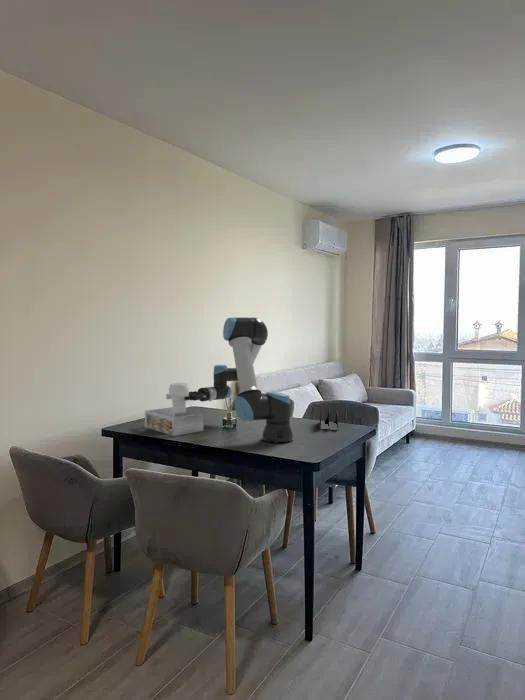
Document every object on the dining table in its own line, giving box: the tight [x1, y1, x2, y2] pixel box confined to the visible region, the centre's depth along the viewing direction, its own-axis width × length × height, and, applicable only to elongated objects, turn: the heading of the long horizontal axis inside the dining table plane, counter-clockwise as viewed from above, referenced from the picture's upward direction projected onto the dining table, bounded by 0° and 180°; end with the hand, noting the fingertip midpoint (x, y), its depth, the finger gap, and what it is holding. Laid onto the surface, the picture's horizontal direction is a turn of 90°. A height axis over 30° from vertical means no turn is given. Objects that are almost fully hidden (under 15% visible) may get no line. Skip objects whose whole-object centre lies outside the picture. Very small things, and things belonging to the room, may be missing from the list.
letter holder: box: [319, 400, 339, 428], centre depth 278 cm, size 10×20×14 cm, turn 174°
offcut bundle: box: [152, 417, 172, 434], centre depth 259 cm, size 18×4×6 cm, turn 43°
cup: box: [168, 382, 190, 414], centre depth 265 cm, size 11×11×15 cm
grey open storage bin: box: [144, 406, 204, 437], centre depth 263 cm, size 28×18×10 cm, turn 43°
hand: (172, 397), depth 262 cm, fingers closed on cup, 10 cm apart
